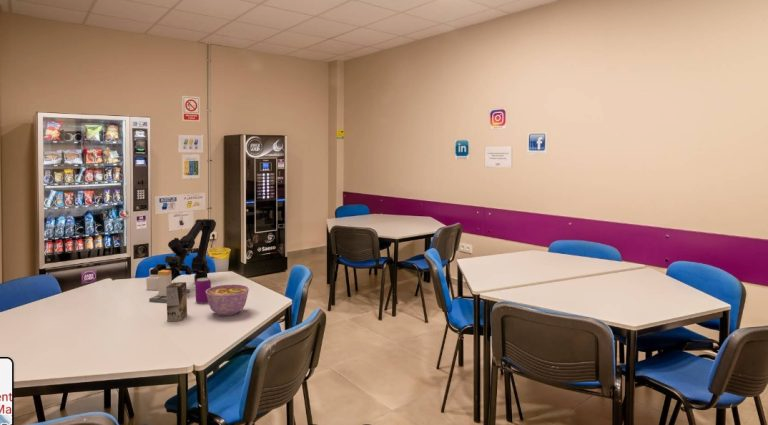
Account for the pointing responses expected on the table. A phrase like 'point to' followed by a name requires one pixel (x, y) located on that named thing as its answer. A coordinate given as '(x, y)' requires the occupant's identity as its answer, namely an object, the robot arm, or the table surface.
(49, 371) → the table surface
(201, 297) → the beverage can
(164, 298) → the board
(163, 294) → the fader knob
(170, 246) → the robot arm
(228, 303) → the bowl of food
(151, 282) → the medicine bottle
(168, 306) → the coffee box
